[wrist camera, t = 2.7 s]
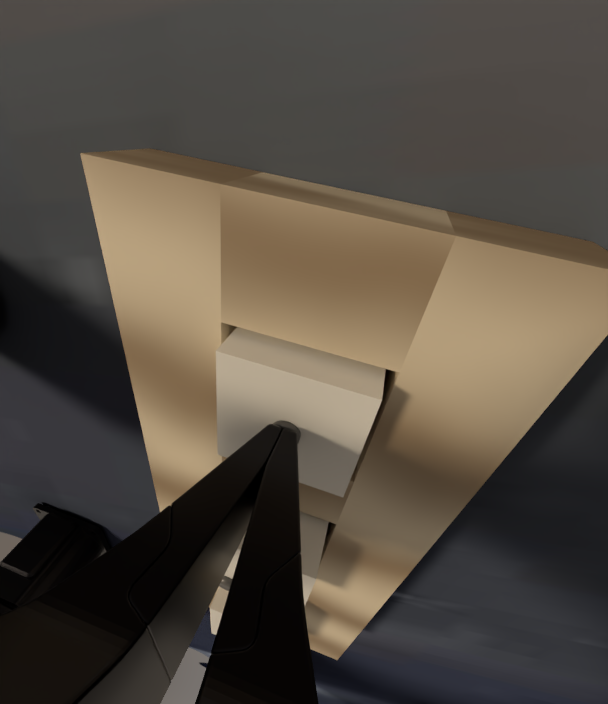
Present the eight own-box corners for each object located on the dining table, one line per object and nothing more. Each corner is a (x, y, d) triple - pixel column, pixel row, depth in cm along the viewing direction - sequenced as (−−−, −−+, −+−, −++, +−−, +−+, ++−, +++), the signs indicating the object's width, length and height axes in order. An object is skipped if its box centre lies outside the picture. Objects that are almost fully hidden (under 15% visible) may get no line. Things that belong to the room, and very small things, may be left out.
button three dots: (315, 548, 17) (298, 623, 14) (236, 519, 17) (205, 586, 15) (332, 503, 14) (315, 585, 12) (238, 470, 15) (201, 541, 12)
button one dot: (356, 429, 13) (341, 503, 10) (252, 397, 14) (214, 459, 11) (389, 337, 10) (381, 405, 8) (259, 302, 11) (212, 355, 8)
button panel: (343, 616, 24) (337, 660, 22) (196, 558, 26) (178, 594, 24) (592, 242, 8) (653, 279, 6) (150, 148, 10) (80, 153, 8)
